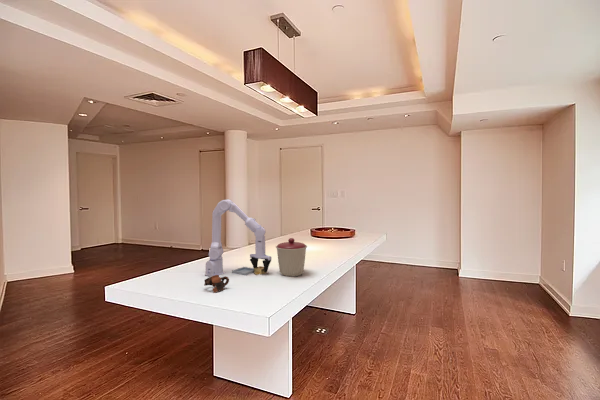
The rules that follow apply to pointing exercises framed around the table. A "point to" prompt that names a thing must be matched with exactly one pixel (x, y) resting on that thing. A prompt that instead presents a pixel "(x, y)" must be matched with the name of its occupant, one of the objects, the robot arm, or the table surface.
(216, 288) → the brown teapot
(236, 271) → the slate tray
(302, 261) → the canister
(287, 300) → the table surface
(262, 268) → the brass ring
